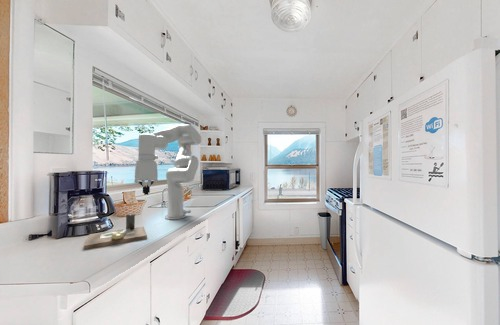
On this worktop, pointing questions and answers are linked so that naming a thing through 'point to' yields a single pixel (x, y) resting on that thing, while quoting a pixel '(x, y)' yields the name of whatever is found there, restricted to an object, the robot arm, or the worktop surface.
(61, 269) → the worktop surface
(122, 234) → the tuner lever
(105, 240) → the board
